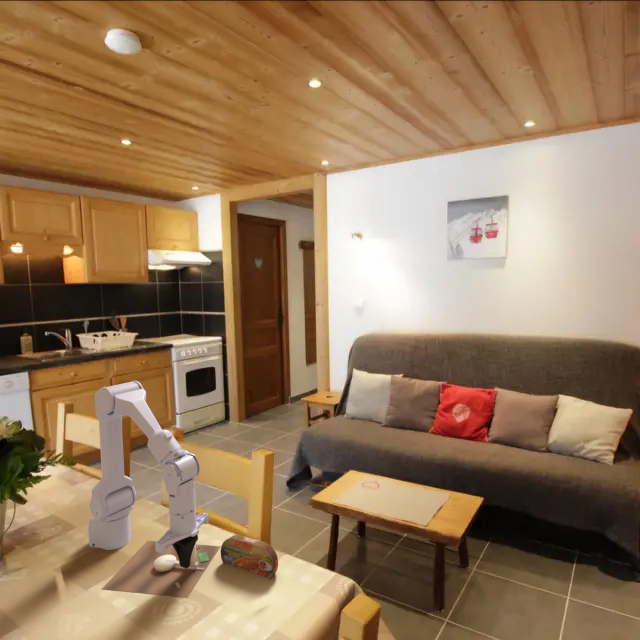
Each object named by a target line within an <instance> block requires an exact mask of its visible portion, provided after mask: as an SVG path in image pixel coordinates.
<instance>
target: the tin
mask: <svg viewBox="0 0 640 640" xmlns="http://www.w3.org/2000/svg"><path fill="white" fill-rule="evenodd" d="M220 546H221V547H220V558H221V561H222V563H223V565H229V566H231V567H235V568H238V569H241V570H243V571H247V572H250V573H252V574H256V575H258V576H261V577H265V578H267V579H268V580H269V581H270V580H271V579H272V578H273V576H274V575H276V573H277V572H278V569H279V558H278V554H277V551H276V550H275V549H274V548H273V546H272V545H270V544H269V543H268V542H266V541H262V540H259V539H256V538H251V537H248V536H245V535H240V534H234V535H232V536H230V537H229V538H226V539H225V540H223V542H222V544H221V545H220Z"/></svg>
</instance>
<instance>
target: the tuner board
mask: <svg viewBox="0 0 640 640" xmlns="http://www.w3.org/2000/svg"><path fill="white" fill-rule="evenodd" d="M157 541H158V540H156V541H155V540H147V541H145V542H144V544H143V545H141V547H140V548H138V550H137V551H136V552H135V553H134V554H133V555H132V556H131V557H130V559H128V561H126V562H125V564H124V565H123V566H122V567H121V568H120V569H119V570H118V571H117V572H116V573H115V574H114V575H113V576H112V577H111V578H110V580H108V582H107V583H105V584H104V586H103V587H102V588H101V590H104V591H114V592H127V593H136V594H145V595H146V594H147V595H153V596H154V595H155V596H164V597H165V596H166V597H174V598H175V597H176V598H186V599H187V598H189V596H190V595H191V593H192V592H193V590H194V588H195V587H196V586H197V584H198V583H199V581H200V579H201V578H202V576H203V574H204V573H205V572H206V570H207V568H208V567H209V565H210V564H211V562H212V561H213V559H214V558H215V556H216V555H217V553H218V552H219V551H220V550H221V546H222V545H210V544H209V545H208V544H197V543H196V544H195V545H196V561H197V562H198V566H197V567H188V568H187V569H186V568H184V567H181V566H175V567H174V568H172V569H171V570H168V571H164V572H159V571H156V570H155V569H154V561H155V560H156V559H157V558H159V557H160V556H163V555H174V556H175V557H176V561H179V557H178V555H177V552H176V550H175V549H174V547H173V546H172V545H171V546H169V547H168V548H166V549H165V552H163V553H159V552H157V551H156V550H155V543H156V542H157Z"/></svg>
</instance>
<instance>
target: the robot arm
mask: <svg viewBox="0 0 640 640" xmlns="http://www.w3.org/2000/svg"><path fill="white" fill-rule="evenodd" d="M146 401H147V392H146V390H145V389H144V387H143V384H141V383H140V381H138V380H131V381H130V382H129V381H128V382H124V383H120V384H115V385H110V386H102V387H100V388H99V389H98V390H97V391H96V392H95V394H94V405H95V407H94V408H95V417H96V418H97V419H98V428H99V432H98V433H99V448H100V464H101V465H100V466H101V479H100V480H99V481H98V482H97V483H96V484H95V486H94V487H93V488H91V498H90V501H89V508H90V509H89V510H90V512H91V514H92V516H91V518H90V519H89V522H88V526H87V527H88V529H87V530H88V531H87V532H88V544H89V548H99V549H103V550H107V551H111V550H118V549H120V548H122V547H125V546H126V545H128V544H129V543H130V542H131V538H132V536H131V534H132V533H131V517H130V512H131V511H132V510H133V506H134V505H136V500H137V492H136V489H135V487H134V480H133V479H132V478H130V477H129V476H127V475H125V464H124V463H125V461H124V460H125V459H124V442H123V425H122V424H123V423H122V420H123V419H122V417H123V416H125V417H130V419H131V420H132V421H133V422H134V423H135V424H136V425H137V426H138V428H139V429H140V430H141V431H142V433H143V434H144V435H145V437H147V439H148V441H147V448H148V449H149V451H150V452H151V453H152V455H153V457H154V458H155V459H156V461H157V462H158V464H159V465H160V466H161V469H162V471H161V473H160V474H161V477H162V480H163V482H164V485H165V491H166V493H167V494H168V509H169V510H168V511H169V528H168V530H167V531H165V533H164V534H163V535H162V536H161V538H160V539H158V540H156V541H157V542H156V543H155V550H156V551H157V552H159V553H163V552H165V549H166V548H168V547H169V546H171V545H172V546H173V547H174V549H175V550H176V552H177V555H178V557H179V563H180V566H181V567H184V568H186V569H187V568H188V567H190V559H191V555H192V551H193V548H194V546H195V544H197V542H198V540H199V533H200V530H199V528H201V526H202V525H204V524H208V523H209V522H210V519H209V518H210V517H209V513H206V512H201V513H199V514H197V508H196V504H197V503H196V486H195V485H196V484H195V483H196V482H195V478H196V477H198V476H199V474H200V471H201V466H200V463H199V460H198V458H197V456H196V455H195V454H194V453H192V452H191V451H190V452H189V451H188V450H187V449H184V448H182V446H181V445H180V443H179V442H178V440H176V438H175V437H174V435H173V433H171V431H170V430H167V429H163V428H162V427H161V426H160V424H159V422H158V420H157V419H156V417H155V415H154V413H153V412H152V410H151V409H150V407H149V405H148V403H147V402H146Z"/></svg>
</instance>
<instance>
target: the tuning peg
mask: <svg viewBox="0 0 640 640" xmlns="http://www.w3.org/2000/svg"><path fill="white" fill-rule="evenodd" d="M175 566H180V563H179V561H176V557H175V556H174V555H163V556H160V557H159V558H157V559H156V560H155V561H154V569H155V570H156V571H159V572H164V571H168V570H171V569H172V568H174V567H175ZM197 566H198V562H197V561H196V545H195V546H194V548H193V551H192V555H191V559H190V567H197Z"/></svg>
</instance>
